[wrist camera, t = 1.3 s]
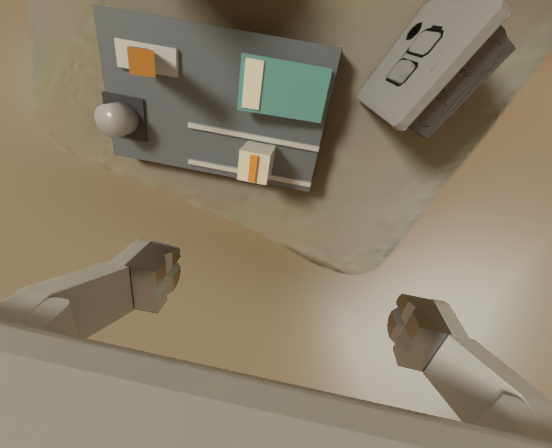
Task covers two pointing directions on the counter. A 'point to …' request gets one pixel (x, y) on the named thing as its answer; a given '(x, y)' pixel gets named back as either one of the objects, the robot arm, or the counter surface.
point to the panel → (204, 95)
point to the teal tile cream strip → (282, 88)
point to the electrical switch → (438, 63)
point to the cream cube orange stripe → (255, 162)
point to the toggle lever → (141, 61)
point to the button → (116, 119)
